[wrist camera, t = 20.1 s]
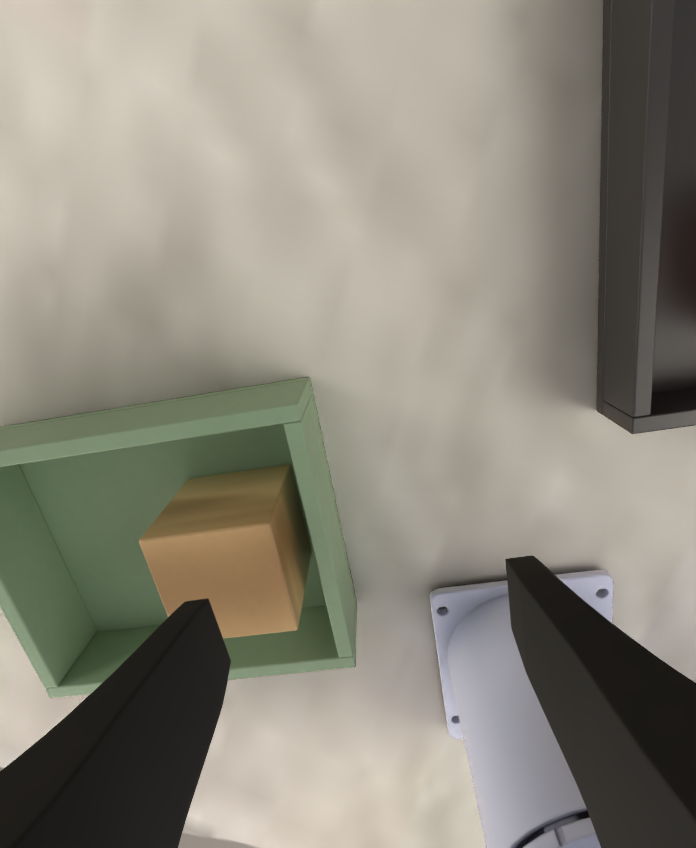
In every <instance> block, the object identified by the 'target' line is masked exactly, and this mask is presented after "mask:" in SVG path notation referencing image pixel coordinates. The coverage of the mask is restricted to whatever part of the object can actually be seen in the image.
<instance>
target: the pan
mask: <svg viewBox="0 0 696 848" xmlns="http://www.w3.org/2000/svg"><path fill="white" fill-rule="evenodd" d="M597 411H598V412H599V413H601V414H603V415H604V416H605V417H607V418H608V419H610V420H611V421H613V422H614V423H616V424H618V425H619V426H621V427H622V428H624V429H625V430H627V431H628V432H630V433H631V434H636V433H643V432H650V431H657V430H665V429H672V428H679V427H686V426H693V425H696V0H604V7H603V67H602V126H601V186H600V245H599V305H598V365H597Z"/></svg>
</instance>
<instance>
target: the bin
mask: <svg viewBox="0 0 696 848" xmlns="http://www.w3.org/2000/svg"><path fill="white" fill-rule="evenodd" d="M287 464H290V465H291V469H292V473H293V477H294V481H295V485H296V490H297V494H298V498H299V502H300V506H301V511H302V515H303V519H304V523H305V527H306V532H307V536H308V540H309V544H310V548H311V558H310V564H309V570H308V575H307V581H306V587H305V592H304V598H303V603H302V609H301V615H300V620H299V626H298V629H297V630H296V631H287V632H277V633H268V634H259V635H250V636H241V637H232V638H223V640H224V643H225V645H226V648H227V651H228V654H229V656H230V659H231V665H230V670H229V675H228V680H234V679H243V678H253V677H263V676H273V675H283V674H292V673H302V672H312V671H322V670H331V669H341V668H351V667H355V666H356V624H357V602H356V597H355V593H354V588H353V583H352V578H351V573H350V569H349V564H348V559H347V554H346V549H345V544H344V540H343V535H342V530H341V525H340V520H339V516H338V511H337V506H336V501H335V496H334V491H333V487H332V482H331V477H330V472H329V467H328V463H327V458H326V453H325V448H324V443H323V438H322V434H321V429H320V424H319V419H318V414H317V409H316V405H315V400H314V395H313V390H312V385H311V381H310V378H309V377H305V378H299V379H293V380H287V381H281V382H275V383H269V384H262V385H256V386H250V387H244V388H238V389H232V390H225V391H219V392H213V393H207V394H201V395H195V396H189V397H182V398H176V399H170V400H164V401H158V402H152V403H145V404H139V405H133V406H127V407H121V408H115V409H109V410H102V411H96V412H90V413H84V414H78V415H72V416H65V417H59V418H53V419H47V420H41V421H35V422H29V423H22V424H16V425H10V426H4V427H0V607H1V609H2V610H3V612H4V614H5V616H6V618H7V619H8V621H9V623H10V625H11V627H12V629H13V630H14V632H15V634H16V636H17V638H18V640H19V641H20V643H21V645H22V647H23V649H24V651H25V652H26V654H27V656H28V658H29V660H30V662H31V663H32V665H33V667H34V669H35V671H36V673H37V674H38V676H39V678H40V680H41V682H42V684H43V685H44V687H45V688H46V691H47V692H48V694H49V696H50V698H58V697H67V696H77V695H87V694H91V693H92V692H93V691H94V690H95V689H96V688H98V687H99V686H100V685H101V684H102V683H103V682H104V681H105V680H106V679H107V678H108V677H109V676H110V675H111V674H112V673H113V672H114V671H115V670H116V669H117V668H118V667H119V666H120V665H121V664H122V663H123V662H124V661H125V660H126V659H127V658H128V657H129V656H130V655H131V654H132V653H133V652H134V651H135V650H136V649H137V648H138V647H139V646H140V645H141V644H142V643H143V642H144V641H145V640H146V639H147V638H148V637H149V636H150V635H151V634H152V633H153V632H154V631H155V630H156V629H157V628H158V627H159V626H160V625H161V624H162V623H163V622H164V621H165V620H166V619H167V618H168V616H167V613H166V610H165V608H164V605H163V603H162V600H161V598H160V595H159V593H158V590H157V587H156V585H155V582H154V580H153V577H152V575H151V572H150V570H149V567H148V564H147V562H146V559H145V557H144V554H143V552H142V549H141V547H140V544H139V539H140V538H141V537H142V536H143V534H144V533H145V532H146V531H147V529H148V528H149V527H150V526H151V524H152V523H153V522H154V521H155V519H156V518H157V517H158V516H159V514H160V513H161V512H162V511H163V509H164V508H165V507H166V506H167V504H168V503H169V502H170V501H171V499H172V498H173V497H174V496H175V494H176V493H177V492H178V491H179V489H180V488H181V487H182V486H183V484H184V483H185V482H186V481H187V479H190V478H197V477H204V476H211V475H218V474H225V473H232V472H238V471H245V470H252V469H259V468H266V467H273V466H280V465H287Z"/></svg>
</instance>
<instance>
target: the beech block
mask: <svg viewBox="0 0 696 848" xmlns="http://www.w3.org/2000/svg"><path fill="white" fill-rule="evenodd" d="M139 544H140V547H141V549H142V552H143V554H144V557H145V559H146V562H147V564H148V567H149V570H150V572H151V575H152V577H153V580H154V582H155V585H156V587H157V590H158V593H159V595H160V598H161V600H162V603H163V605H164V608H165V610H166V613H167V616H168V617H169V616H170V615H171V614H172V613H173V612H174V611H175V610H176V609H177V608H178V607H179V606H181V605H182V604H183V603H184V602H185V601H192V600H199V599H207V598H208V599H209V601H210V604H211V607H212V610H213V612H214V615H215V618H216V621H217V623H218V626H219V629H220V632H221V634H222V637H223V638H232V637H241V636H250V635H259V634H268V633H277V632H287V631H296V630H297V629H298V626H299V620H300V615H301V609H302V603H303V598H304V592H305V587H306V581H307V575H308V570H309V564H310V558H311V548H310V544H309V540H308V536H307V532H306V527H305V523H304V519H303V515H302V511H301V506H300V502H299V498H298V494H297V490H296V485H295V481H294V477H293V473H292V469H291V465H290V464H287V465H280V466H273V467H266V468H259V469H252V470H245V471H238V472H232V473H225V474H218V475H211V476H204V477H197V478H190V479H187V481H186V482H185V483H184V484H183V486H182V487H181V488H180V489H179V491H178V492H177V493H176V494H175V496H174V497H173V498H172V499H171V501H170V502H169V503H168V504H167V506H166V507H165V508H164V509H163V511H162V512H161V513H160V514H159V516H158V517H157V518H156V519H155V521H154V522H153V523H152V524H151V526H150V527H149V528H148V529H147V531H146V532H145V533H144V534H143V536H142V537H141V538H140V539H139Z"/></svg>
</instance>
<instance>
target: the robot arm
mask: <svg viewBox="0 0 696 848" xmlns="http://www.w3.org/2000/svg"><path fill="white" fill-rule="evenodd" d="M506 570H507V580H506V581H497V582H489V583H480V584H472V585H463V586H454V587H446V588H439V589H435V590H434V591H432V593H431V594H430V604H431V612H432V619H433V626H434V633H435V641H436V648H437V655H438V662H439V670H440V677H441V684H442V692H443V699H444V706H445V713H446V721H447V728H448V733H449V735H450V736H451V737H452V738H454V739H464V744H465V748H466V753H467V758H468V763H469V768H470V772H471V777H472V782H473V787H474V792H475V796H476V801H477V806H478V811H479V816H480V820H481V825H482V830H483V835H484V839H485V844H486V848H696V683H695V682H693V681H692V680H690V679H689V678H687V677H686V676H684V675H682V674H681V673H679V672H678V671H676V670H675V669H674V668H672V667H671V666H669V665H668V664H666V663H665V662H663V661H662V660H661V659H659V658H658V657H656V656H655V655H653V654H652V653H651V652H649V651H648V650H647V649H645V648H644V647H643V646H641V645H640V644H639V643H637V642H636V641H634V640H633V639H632V638H630V637H629V636H628V635H626V634H625V633H624V632H623V631H621V630H620V629H619V628H617V627H616V626H615V625H614V624H612V613H613V584H614V582H613V578H612V577H611V576H610V575H609V573H608V572H607V571H604V570H592V571H583V572H575V573H566V574H558V575H554V574H553V573H552V572H551V571H550V570H549V569H548V568H547V567H546V566H544V565H543V564H542V563H541V562H540V561H539V560H538V559H537V558H535V557H534V556H525V557H518V558H510V559H506ZM599 589H602V590H601V591H599V592H597V591H598V590H599ZM439 607H446V608H445V609H438V608H439ZM230 665H231V659H230V656H229V654H228V651H227V648H226V645H225V643H224V640H223V637H222V634H221V632H220V629H219V626H218V623H217V621H216V618H215V615H214V612H213V610H212V607H211V604H210V601H209V599H208V598H207V599H199V600H192V601H185V602H184V603H183V604H182V605H181V606H179V607H178V608H177V609H176V610H175V611H174V612H173V613H172V614H171V615H170V616H169V617H168V618H167V619H166V620H165V621H164V622H163V623H162V624H161V625H160V626H159V627H158V628H157V629H156V630H155V631H154V632H153V633H152V634H151V635H150V636H149V637H148V638H147V639H146V640H145V641H144V642H143V643H142V644H141V645H140V646H139V647H138V648H137V649H136V650H135V651H134V652H133V653H132V654H131V655H130V656H129V657H128V658H127V659H126V660H125V661H124V662H123V663H122V664H121V665H120V666H119V667H118V668H117V669H116V670H115V671H114V672H113V673H112V674H111V675H110V676H109V677H108V678H107V679H106V680H105V681H104V682H103V683H102V684H101V685H100V686H99V687H98V688H96V689H95V690H94V691H93V692H92V693H91V694H90V695H89V696H88V697H87V698H86V699H85V700H84V701H83V702H82V703H80V704H79V705H78V706H77V707H76V708H75V709H74V710H73V711H72V712H71V713H70V714H69V715H68V716H66V717H65V718H64V719H63V720H62V721H61V722H60V723H59V724H57V725H56V726H55V727H54V728H53V729H52V730H50V731H49V732H48V733H47V734H46V735H45V736H43V737H42V738H41V739H40V740H39V741H37V742H36V743H35V744H34V745H33V746H31V747H30V748H29V749H28V750H27V751H25V752H24V753H23V754H22V755H20V756H19V757H18V758H17V759H16V760H14V761H13V762H12V763H11V764H9V765H8V766H7V767H5V768H4V769H3V770H2V771H0V848H178V845H179V841H180V838H181V834H182V831H183V827H184V824H185V820H186V817H187V814H188V811H189V808H190V805H191V801H192V798H193V795H194V792H195V789H196V786H197V783H198V780H199V777H200V774H201V771H202V768H203V765H204V762H205V759H206V756H207V753H208V749H209V746H210V743H211V740H212V737H213V734H214V731H215V728H216V724H217V721H218V718H219V715H220V712H221V708H222V705H223V700H224V696H225V691H226V686H227V681H228V675H229V670H230Z"/></svg>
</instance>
